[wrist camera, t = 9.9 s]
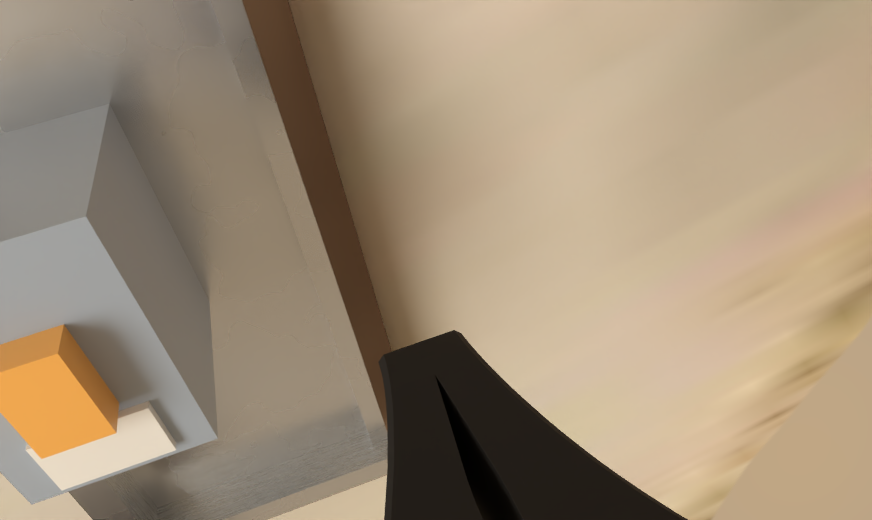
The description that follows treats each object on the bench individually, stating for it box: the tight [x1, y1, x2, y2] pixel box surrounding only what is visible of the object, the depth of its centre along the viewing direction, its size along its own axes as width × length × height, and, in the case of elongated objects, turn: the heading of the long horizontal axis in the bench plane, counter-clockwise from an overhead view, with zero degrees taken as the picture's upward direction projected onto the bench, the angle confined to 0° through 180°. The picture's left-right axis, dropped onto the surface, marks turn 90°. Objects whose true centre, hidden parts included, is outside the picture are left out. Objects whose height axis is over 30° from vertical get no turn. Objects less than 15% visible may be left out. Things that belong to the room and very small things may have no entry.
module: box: [0, 104, 218, 504], centre depth 14 cm, size 4×6×6 cm, turn 9°
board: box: [242, 0, 392, 429], centre depth 18 cm, size 11×26×1 cm, turn 9°
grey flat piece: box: [0, 0, 388, 520], centre depth 17 cm, size 9×22×2 cm, turn 9°
